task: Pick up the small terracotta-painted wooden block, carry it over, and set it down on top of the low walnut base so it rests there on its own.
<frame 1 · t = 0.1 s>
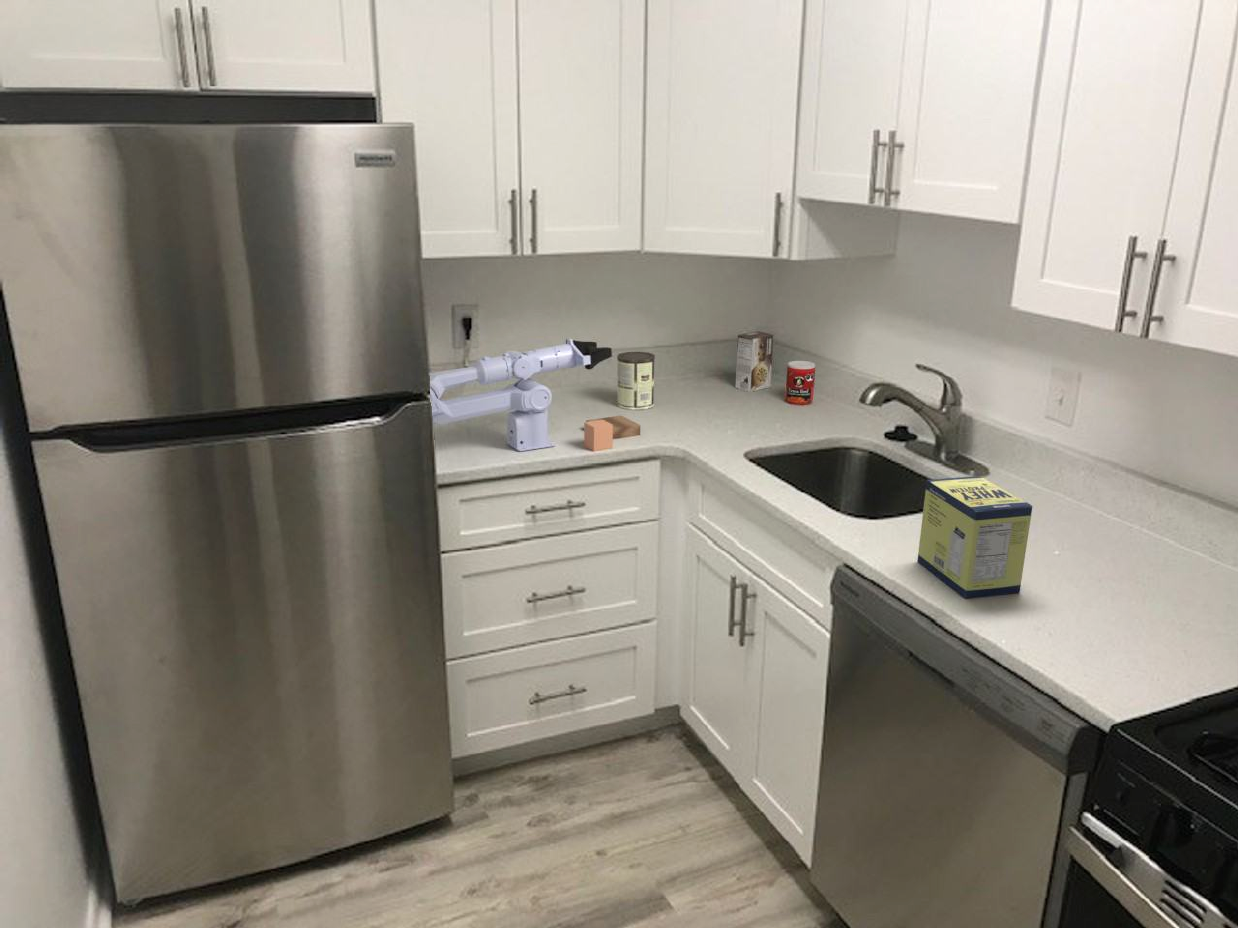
hand: (603, 349, 235), 22 cm above the worktop, tool horizontal, fingers open, 7 cm apart
terracotta block: (598, 447, 232), on the worktop
walnut base: (613, 434, 244), on the worktop
protein box: (966, 577, 166), on the worktop
coffee can: (635, 405, 269), on the worktop
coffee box: (752, 388, 289), on the worktop
canned food: (798, 402, 274), on the worktop
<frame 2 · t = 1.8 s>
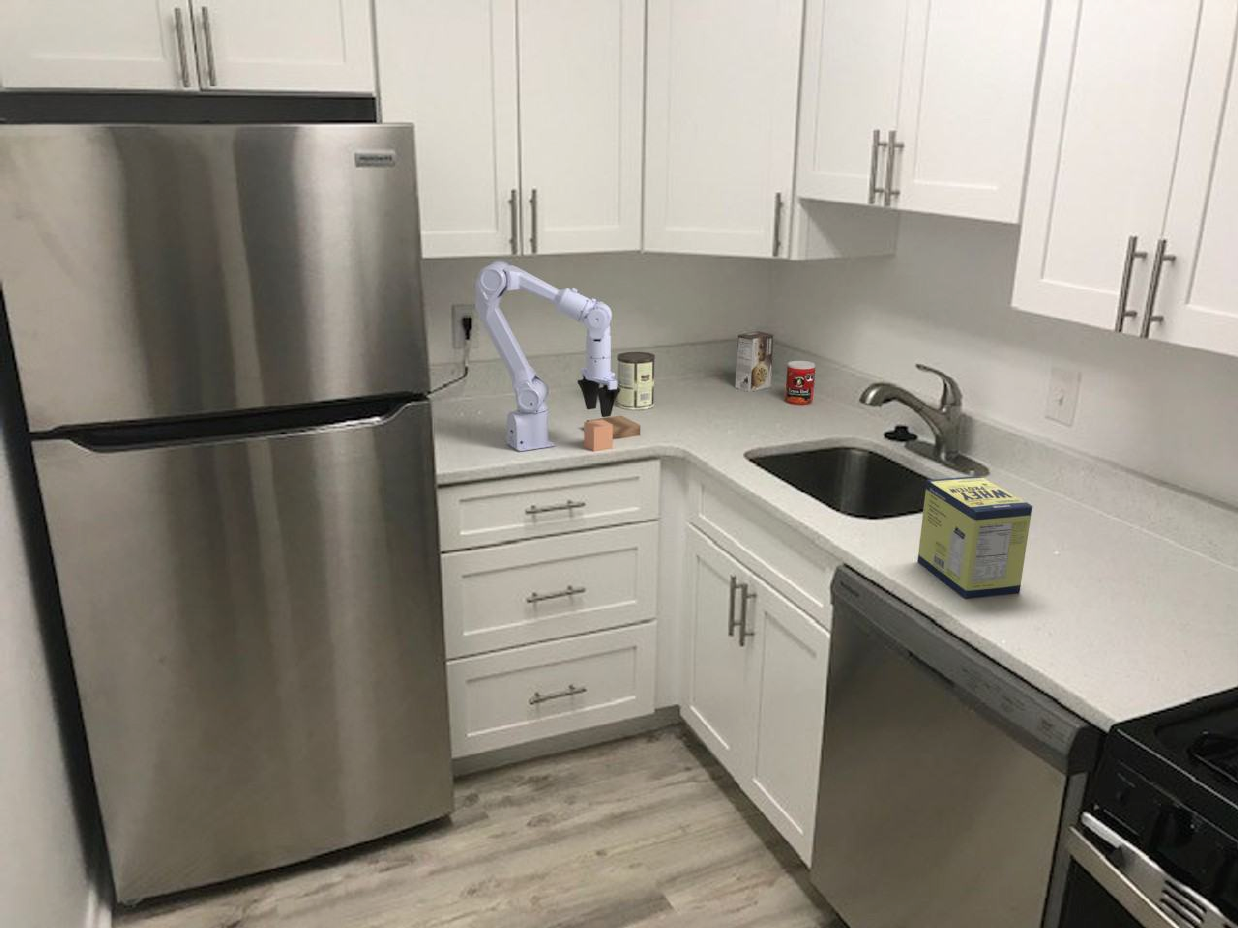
hand: (598, 412, 229), 9 cm above the worktop, tool pointing down, fingers open, 7 cm apart
nothing on the worktop moved.
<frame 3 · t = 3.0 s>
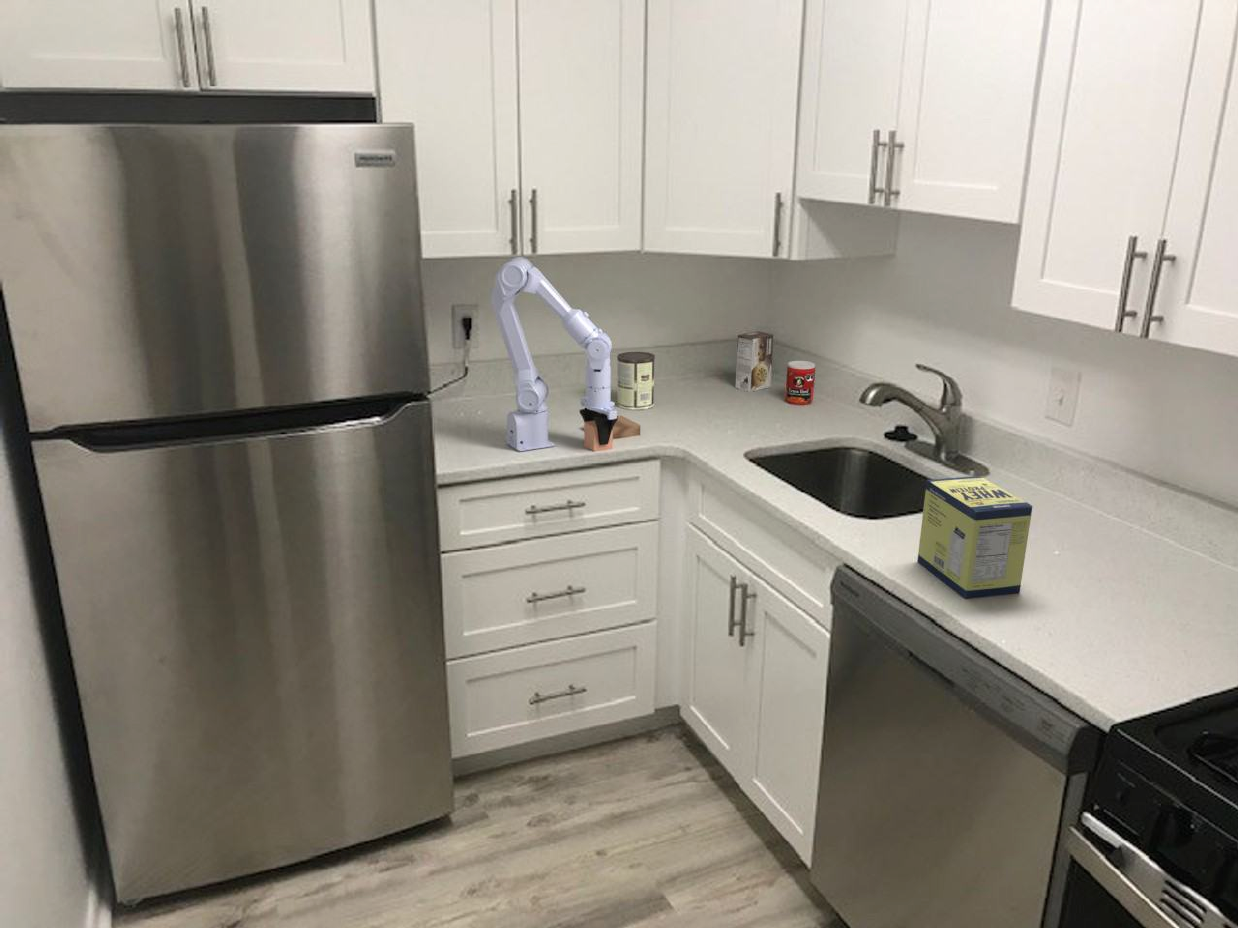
hand: (598, 441, 232), 2 cm above the worktop, tool pointing down, fingers closed on terracotta block, 5 cm apart
terracotta block: (598, 447, 232), on the worktop, touching gripper
everything else where it was.
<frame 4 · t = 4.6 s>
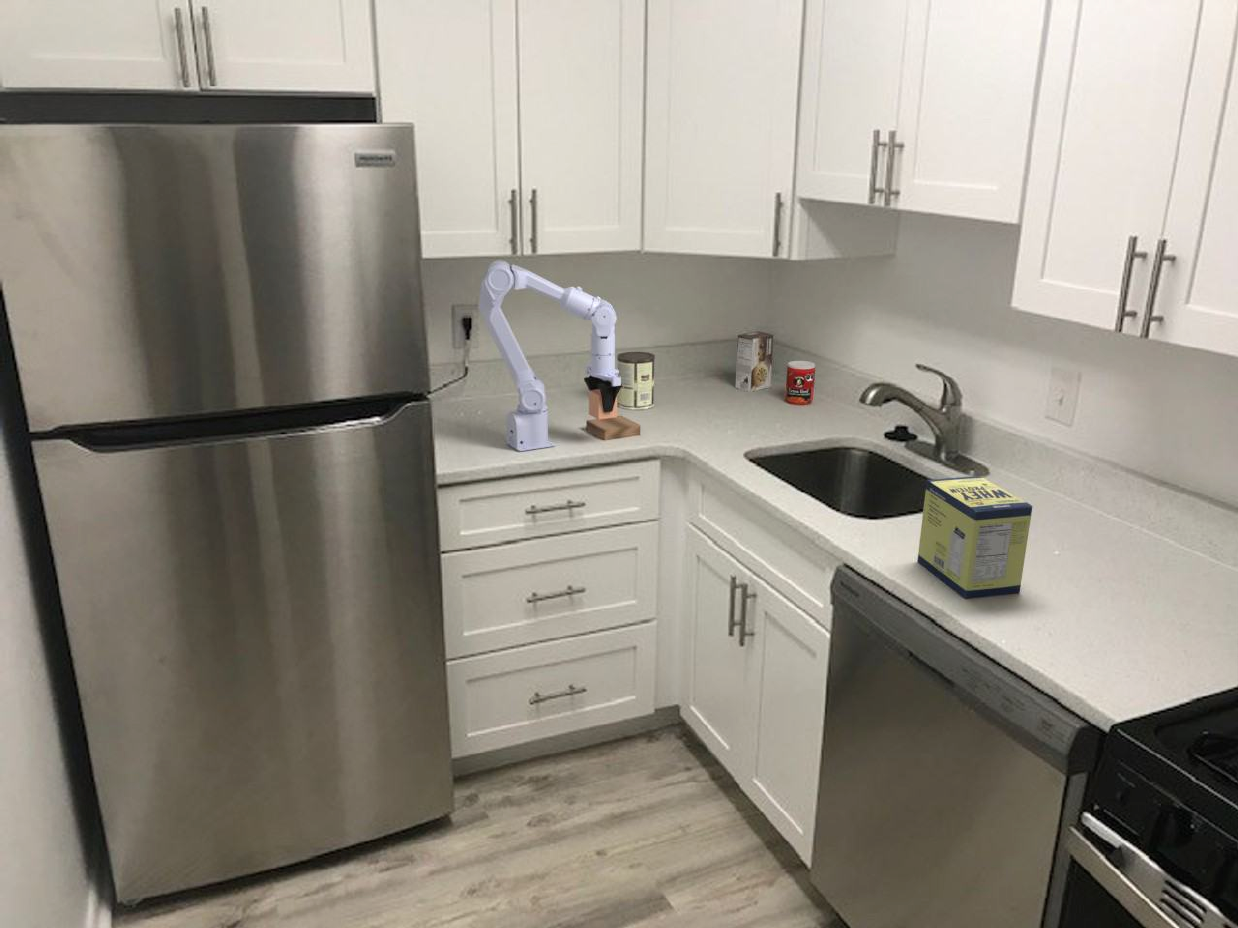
hand: (602, 408, 232), 9 cm above the worktop, tool pointing down, fingers closed on terracotta block, 5 cm apart
terracotta block: (603, 415, 233), point 7 cm above the worktop, touching gripper
everything else where it was.
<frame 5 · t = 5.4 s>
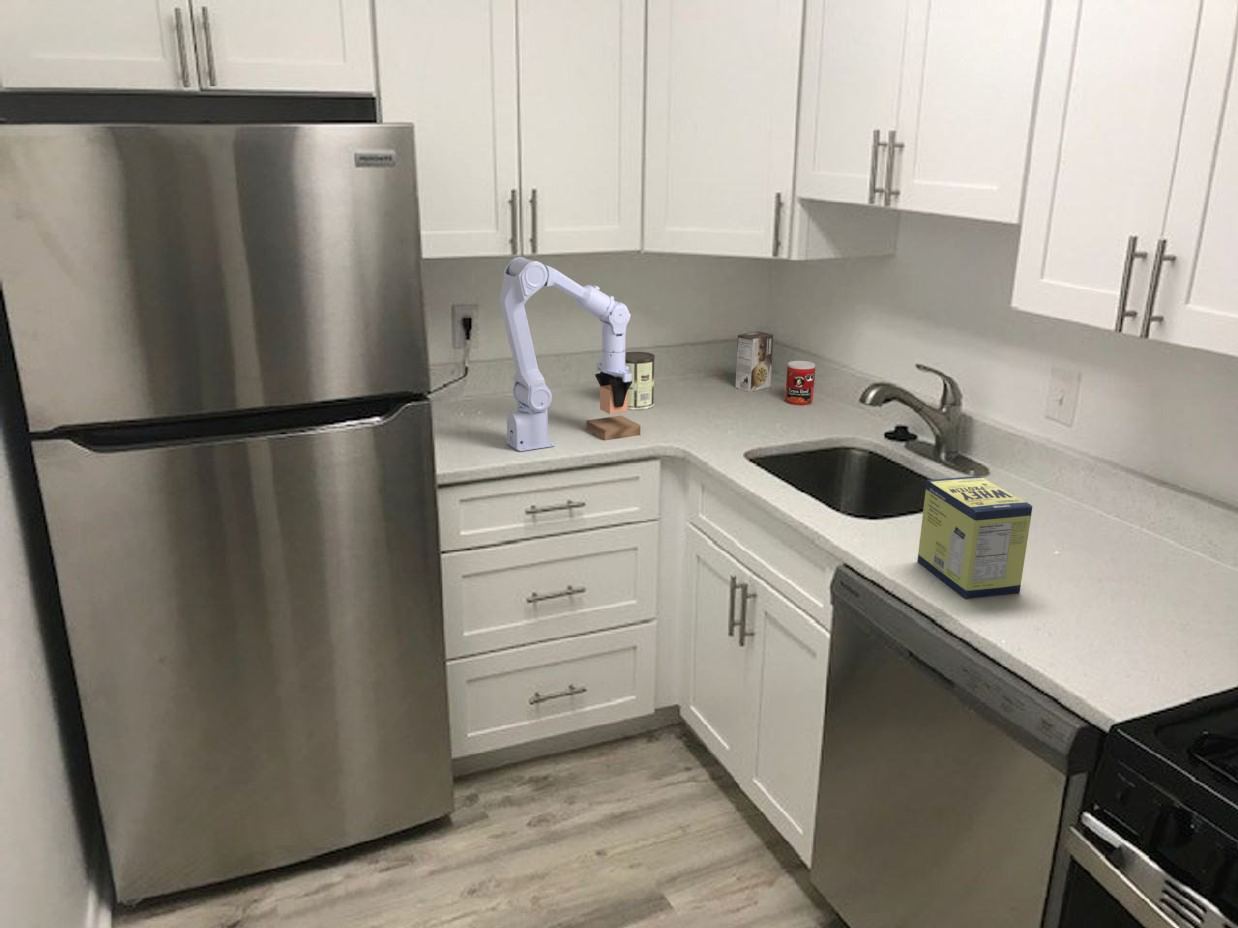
hand: (613, 404, 241), 7 cm above the worktop, tool pointing down, fingers closed on terracotta block, 5 cm apart
terracotta block: (613, 410, 242), point 6 cm above the worktop, touching gripper
everything else where it was.
when the fingers open (6 cm above the worktop, at t = 6.1 s): terracotta block drops 2 cm, resting on walnut base.
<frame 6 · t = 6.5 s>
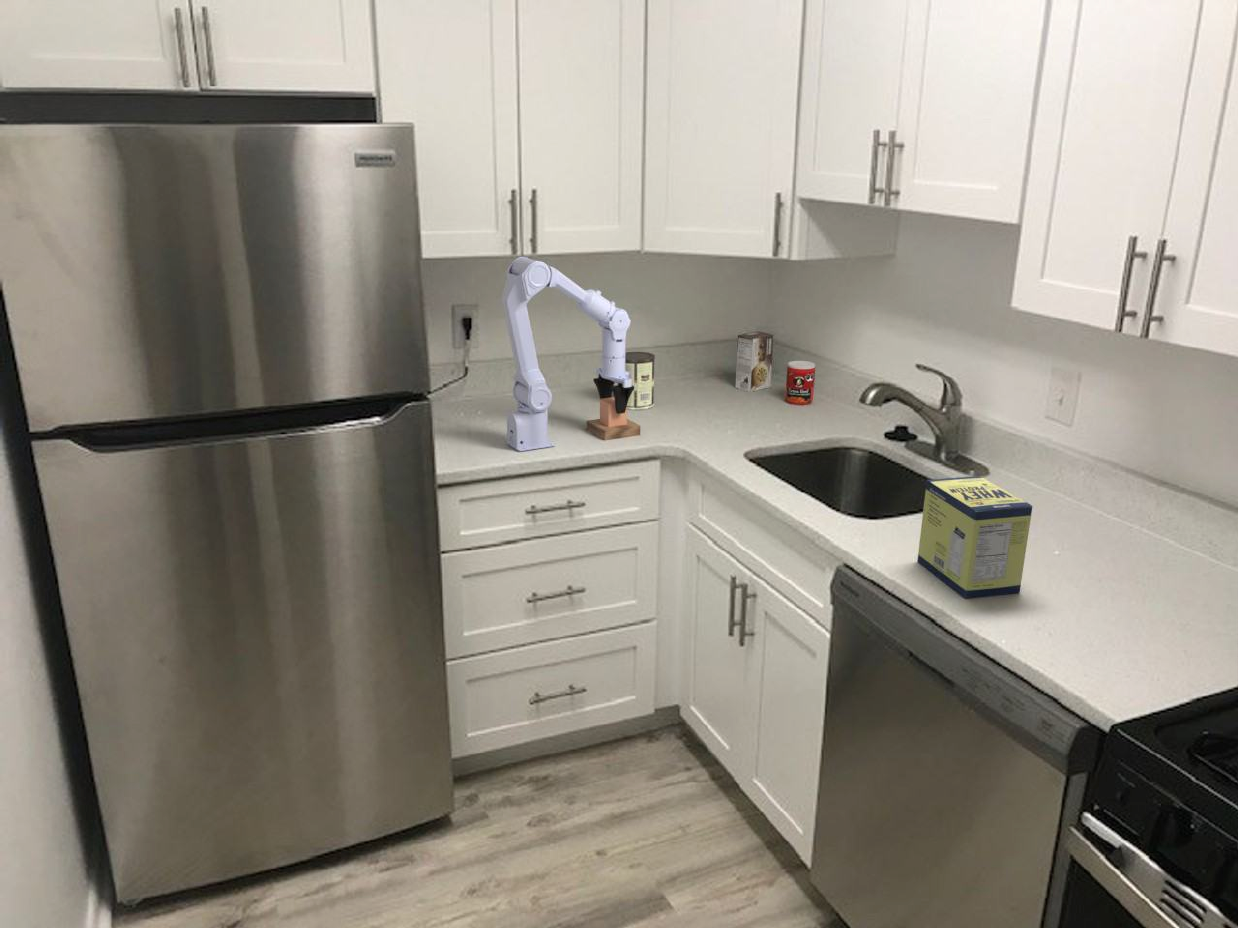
hand: (613, 409, 242), 6 cm above the worktop, tool pointing down, fingers open, 7 cm apart
terracotta block: (613, 423, 243), point 2 cm above the worktop, touching walnut base
walnut base: (613, 434, 244), on the worktop, touching terracotta block
everything else where it was.
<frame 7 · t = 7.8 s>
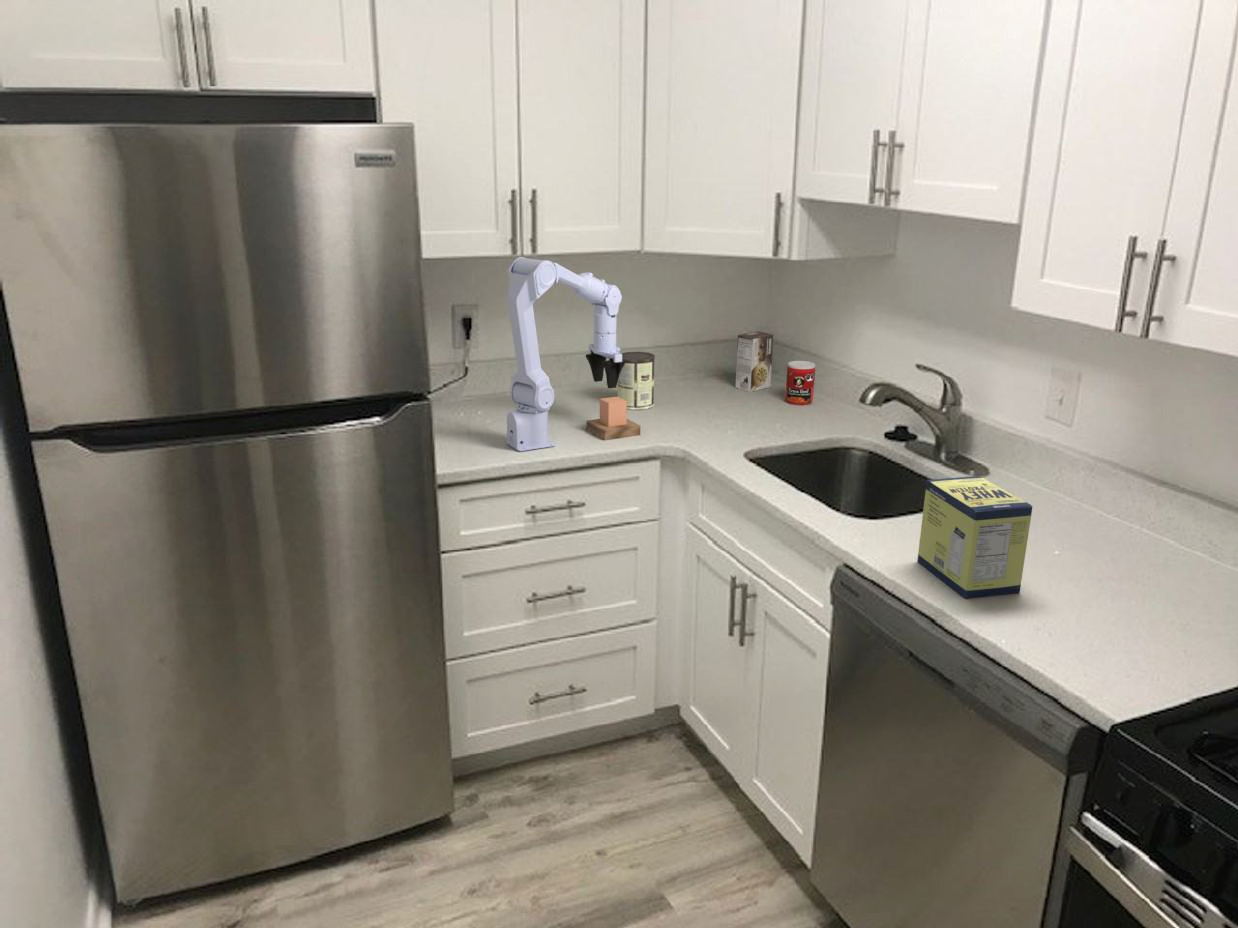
hand: (604, 384, 248), 10 cm above the worktop, tool pointing down, fingers open, 7 cm apart
terracotta block: (612, 423, 243), point 2 cm above the worktop
walnut base: (613, 434, 244), on the worktop
everything else where it was.
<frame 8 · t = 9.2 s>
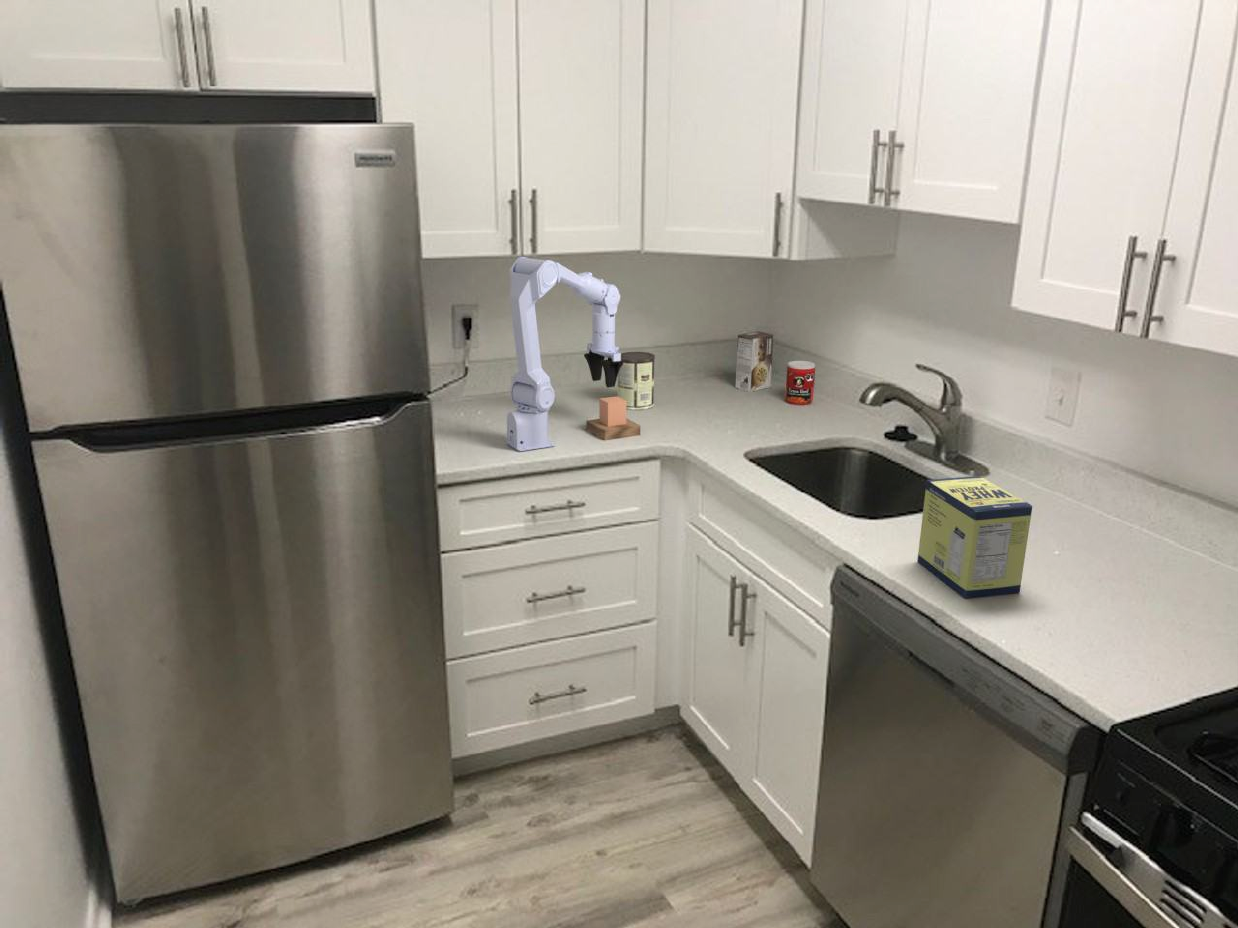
hand: (603, 383, 249), 10 cm above the worktop, tool pointing down, fingers open, 7 cm apart
nothing on the worktop moved.
at the end: terracotta block 0.4 cm off-centre on the walnut base, point 3.0 cm above the walnut base's base; terracotta block tilted 0°; the gripper is holding nothing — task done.
